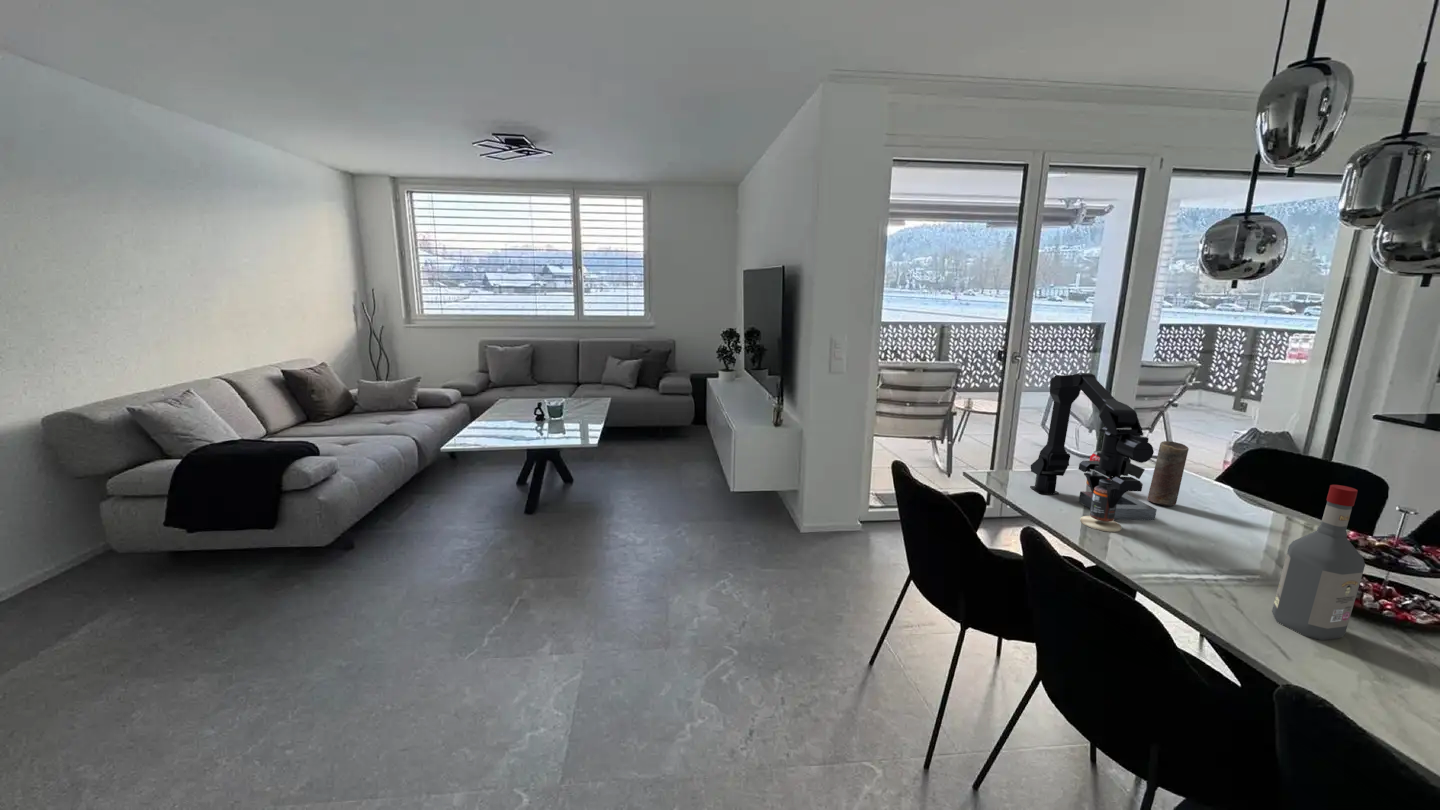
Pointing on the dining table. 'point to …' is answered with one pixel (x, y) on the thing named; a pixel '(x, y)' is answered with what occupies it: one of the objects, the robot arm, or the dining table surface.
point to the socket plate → (1124, 507)
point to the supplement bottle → (1102, 503)
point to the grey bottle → (1321, 574)
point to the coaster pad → (1100, 524)
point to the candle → (1168, 473)
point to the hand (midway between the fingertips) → (1103, 503)
